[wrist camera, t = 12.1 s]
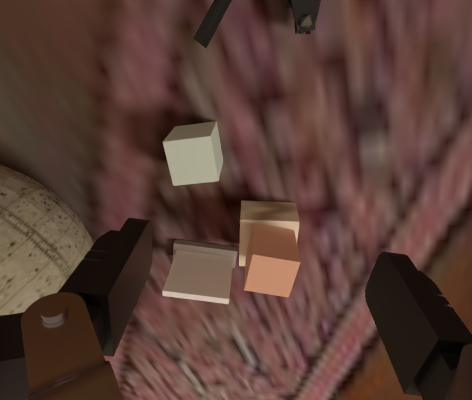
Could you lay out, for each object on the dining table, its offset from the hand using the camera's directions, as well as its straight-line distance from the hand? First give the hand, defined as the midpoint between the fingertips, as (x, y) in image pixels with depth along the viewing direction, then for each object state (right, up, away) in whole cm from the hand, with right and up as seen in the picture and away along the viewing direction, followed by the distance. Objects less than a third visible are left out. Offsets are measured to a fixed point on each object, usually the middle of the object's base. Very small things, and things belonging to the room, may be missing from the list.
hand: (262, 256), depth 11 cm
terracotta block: (+3, -3, +28) cm, 28 cm away
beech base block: (+3, -1, +33) cm, 33 cm away
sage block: (-5, +9, +28) cm, 29 cm away
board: (-5, -5, +35) cm, 36 cm away
